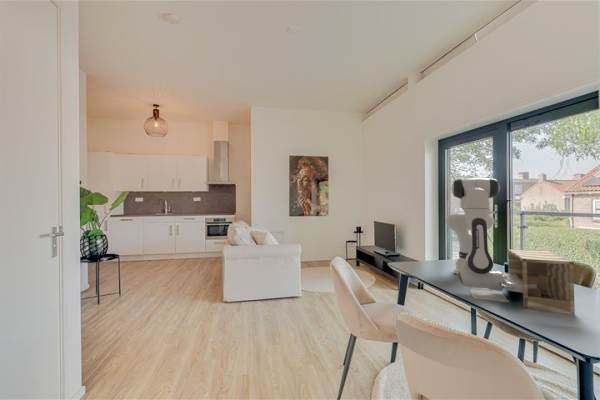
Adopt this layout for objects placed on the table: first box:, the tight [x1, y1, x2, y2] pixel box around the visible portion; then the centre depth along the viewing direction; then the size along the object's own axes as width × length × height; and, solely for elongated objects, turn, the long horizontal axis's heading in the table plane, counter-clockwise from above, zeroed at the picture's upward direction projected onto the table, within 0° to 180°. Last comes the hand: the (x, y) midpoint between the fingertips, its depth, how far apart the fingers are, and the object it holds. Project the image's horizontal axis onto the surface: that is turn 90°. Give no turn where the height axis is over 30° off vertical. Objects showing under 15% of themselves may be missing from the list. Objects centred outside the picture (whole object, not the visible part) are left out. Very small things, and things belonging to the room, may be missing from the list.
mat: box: [469, 288, 510, 303], centre depth 135 cm, size 14×14×1 cm
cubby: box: [507, 248, 576, 315], centre depth 127 cm, size 26×16×21 cm, turn 154°
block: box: [527, 273, 542, 298], centre depth 128 cm, size 5×5×10 cm
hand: (533, 284), depth 127 cm, fingers closed on block, 5 cm apart
